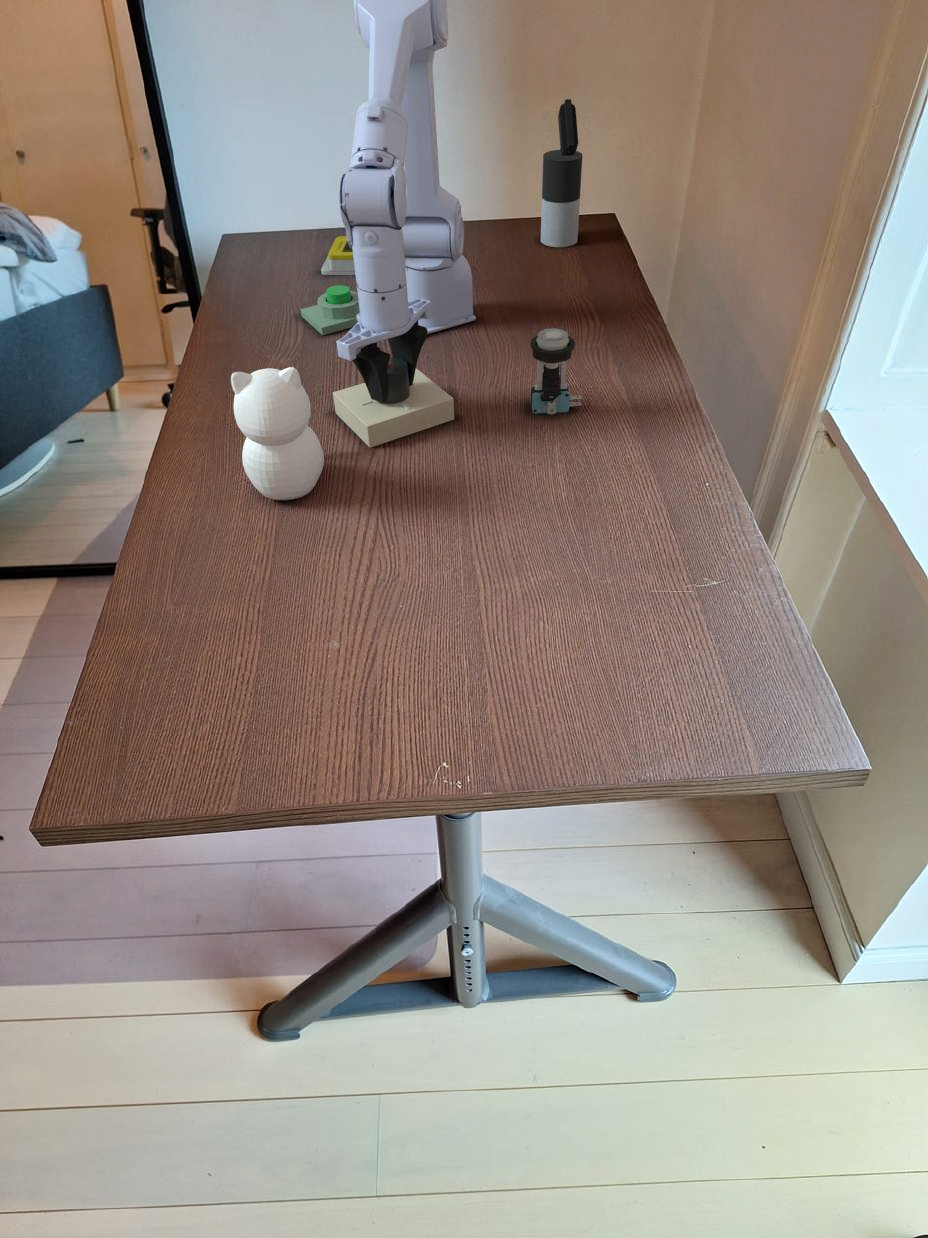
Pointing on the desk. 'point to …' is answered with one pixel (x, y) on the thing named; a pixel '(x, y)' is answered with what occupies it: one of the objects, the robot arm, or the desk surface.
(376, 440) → the dimmer panel
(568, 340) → the push button
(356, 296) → the switch block
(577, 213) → the track light
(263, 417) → the cat figurine
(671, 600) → the desk surface
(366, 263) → the robot arm
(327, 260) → the emergency button
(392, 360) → the dimmer knob
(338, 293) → the light button
